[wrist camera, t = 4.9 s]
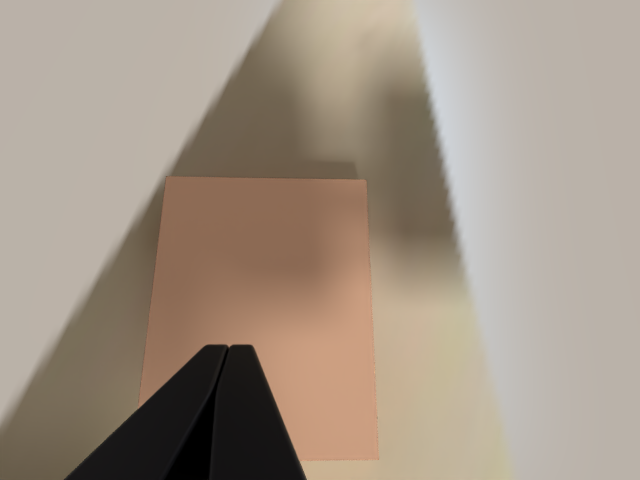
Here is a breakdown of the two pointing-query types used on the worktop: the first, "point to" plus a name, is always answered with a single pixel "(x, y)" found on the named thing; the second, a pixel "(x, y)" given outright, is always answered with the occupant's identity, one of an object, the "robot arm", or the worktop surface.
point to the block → (273, 298)
